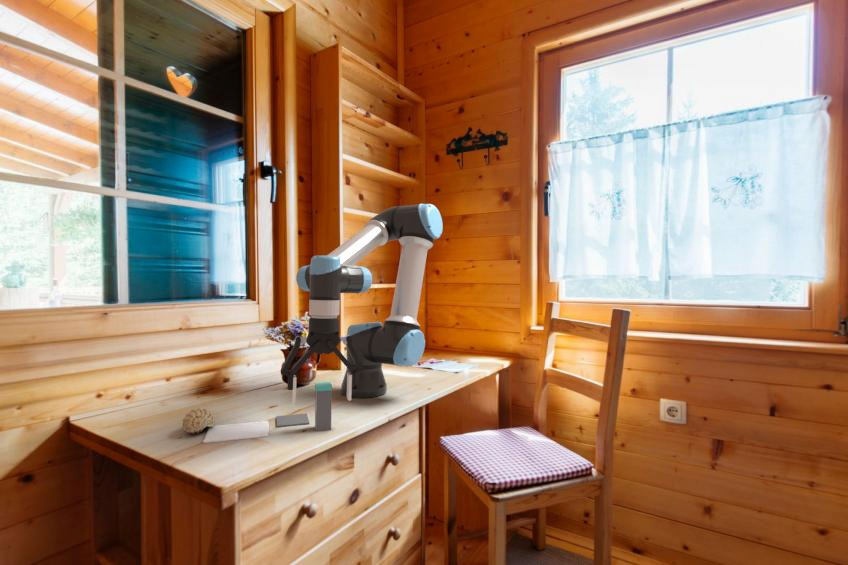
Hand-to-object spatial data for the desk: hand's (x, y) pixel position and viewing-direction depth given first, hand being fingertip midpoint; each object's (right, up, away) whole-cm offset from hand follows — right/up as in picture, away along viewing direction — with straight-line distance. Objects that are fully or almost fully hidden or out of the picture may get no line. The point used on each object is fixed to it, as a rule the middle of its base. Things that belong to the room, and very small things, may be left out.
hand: (322, 401), depth 109 cm
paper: (-20, -7, -3) cm, 21 cm away
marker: (0, -7, 0) cm, 7 cm away
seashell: (-30, -7, -2) cm, 31 cm away
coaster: (-9, -7, +6) cm, 13 cm away
